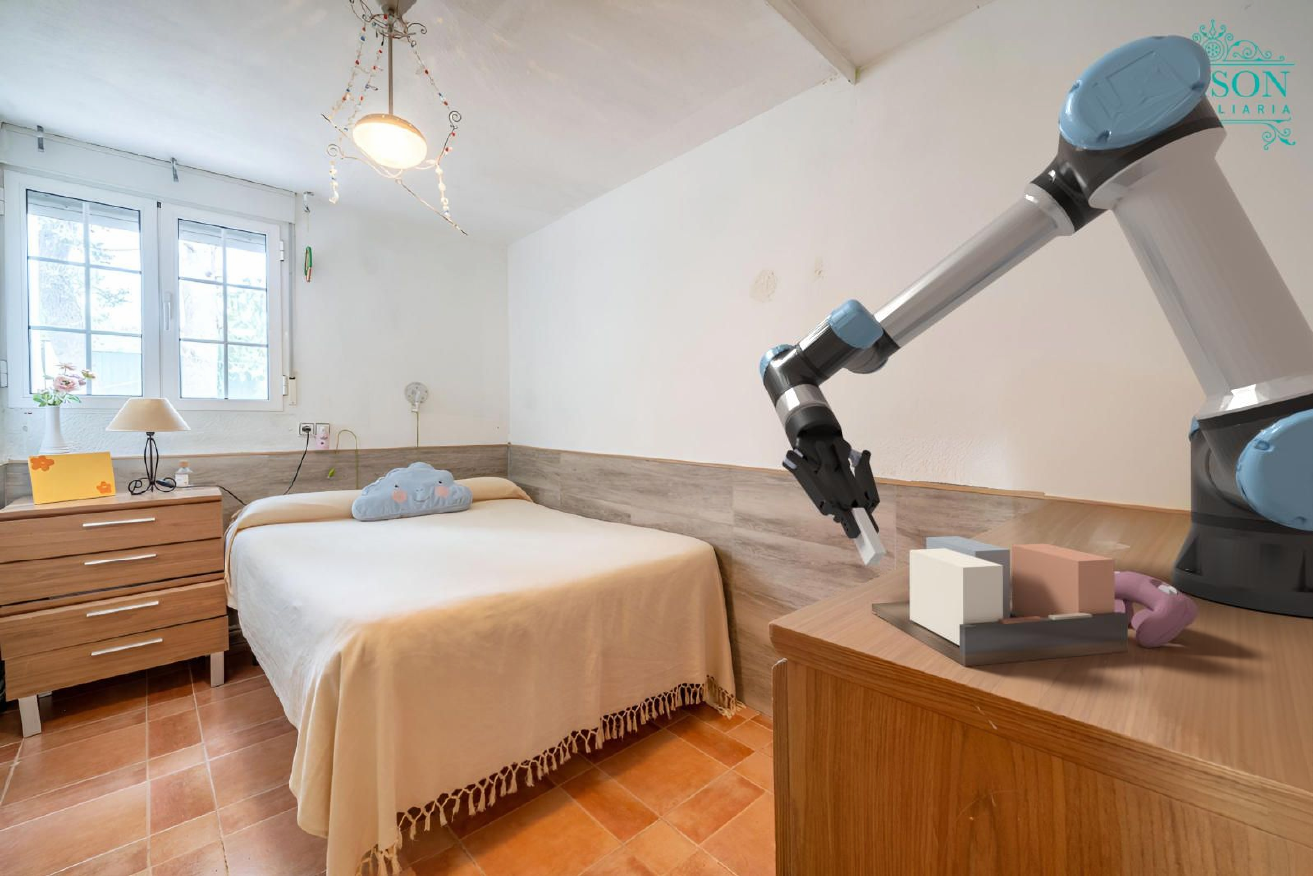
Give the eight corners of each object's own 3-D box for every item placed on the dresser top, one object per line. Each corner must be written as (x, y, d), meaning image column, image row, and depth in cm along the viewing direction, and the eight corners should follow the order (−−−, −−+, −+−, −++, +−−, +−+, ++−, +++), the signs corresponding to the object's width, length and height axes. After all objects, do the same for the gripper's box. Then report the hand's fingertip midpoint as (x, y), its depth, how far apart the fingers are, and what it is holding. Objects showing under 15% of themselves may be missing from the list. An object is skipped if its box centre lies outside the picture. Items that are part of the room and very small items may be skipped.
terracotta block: (1012, 611, 53) (1012, 545, 53) (1044, 609, 54) (1044, 543, 54) (1078, 637, 46) (1078, 561, 46) (1114, 634, 47) (1114, 559, 47)
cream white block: (909, 619, 51) (909, 550, 51) (944, 616, 52) (944, 548, 52) (963, 647, 44) (963, 567, 44) (1002, 644, 45) (1002, 565, 45)
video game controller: (1184, 667, 47) (1218, 599, 47) (1140, 645, 47) (1174, 577, 47) (1091, 627, 56) (1119, 570, 57) (1055, 608, 56) (1083, 552, 56)
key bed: (871, 612, 57) (871, 580, 57) (1002, 603, 60) (1002, 573, 60) (965, 666, 43) (964, 624, 43) (1127, 651, 46) (1127, 612, 46)
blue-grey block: (926, 599, 57) (926, 537, 57) (957, 597, 58) (957, 536, 58) (975, 621, 50) (975, 551, 50) (1010, 618, 51) (1009, 549, 51)
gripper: (838, 439, 80) (909, 572, 64) (760, 439, 78) (814, 578, 61) (857, 403, 75) (940, 539, 58) (775, 402, 72) (837, 543, 56)
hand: (876, 558), depth 60 cm, fingers closed
